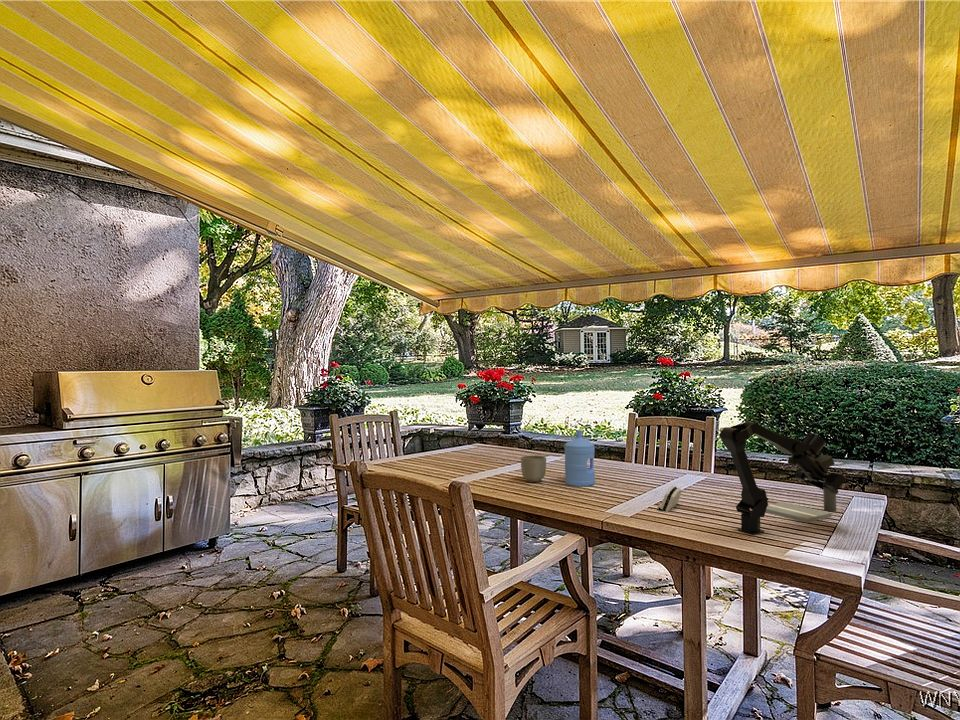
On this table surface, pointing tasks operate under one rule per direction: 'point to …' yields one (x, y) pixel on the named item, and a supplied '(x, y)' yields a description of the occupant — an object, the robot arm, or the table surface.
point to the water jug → (579, 461)
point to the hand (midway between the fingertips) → (832, 491)
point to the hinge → (670, 498)
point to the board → (796, 512)
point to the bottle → (829, 500)
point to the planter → (533, 467)
